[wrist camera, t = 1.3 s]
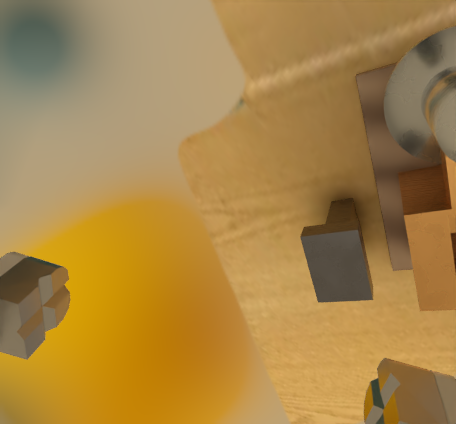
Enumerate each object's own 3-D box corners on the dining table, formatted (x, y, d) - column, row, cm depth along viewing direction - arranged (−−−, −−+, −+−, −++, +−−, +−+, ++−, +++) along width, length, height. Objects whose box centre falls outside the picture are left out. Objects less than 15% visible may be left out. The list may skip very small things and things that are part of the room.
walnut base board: (356, 74, 37) (355, 76, 36) (530, 23, 32) (536, 23, 30) (392, 263, 44) (392, 270, 43) (540, 251, 38) (545, 258, 37)
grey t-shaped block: (317, 190, 44) (300, 236, 34) (362, 183, 42) (357, 229, 32) (330, 244, 46) (318, 302, 36) (373, 240, 44) (372, 299, 34)
